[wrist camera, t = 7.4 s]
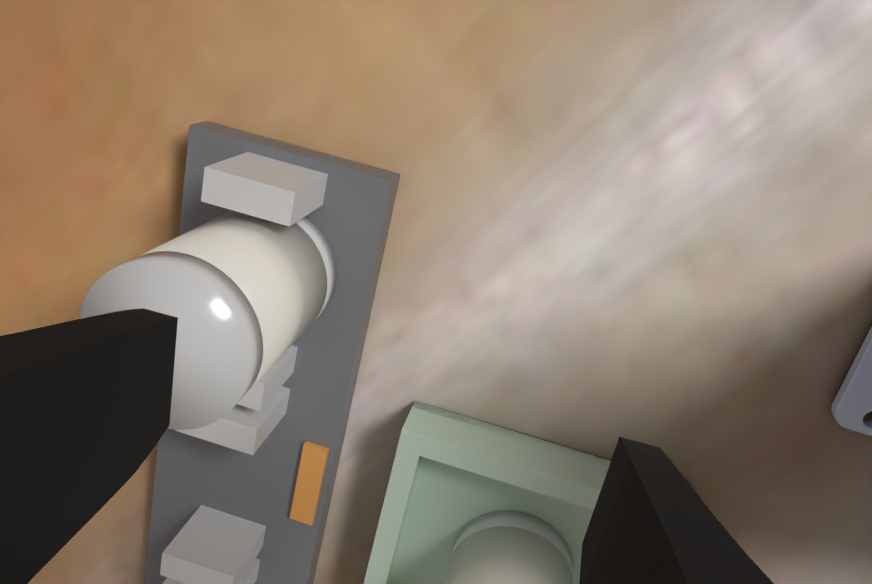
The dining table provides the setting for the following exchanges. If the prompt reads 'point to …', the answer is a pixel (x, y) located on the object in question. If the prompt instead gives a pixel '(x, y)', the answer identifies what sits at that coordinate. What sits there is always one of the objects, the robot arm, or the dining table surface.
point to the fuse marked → (509, 552)
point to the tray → (474, 491)
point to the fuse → (225, 303)
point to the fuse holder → (271, 375)
